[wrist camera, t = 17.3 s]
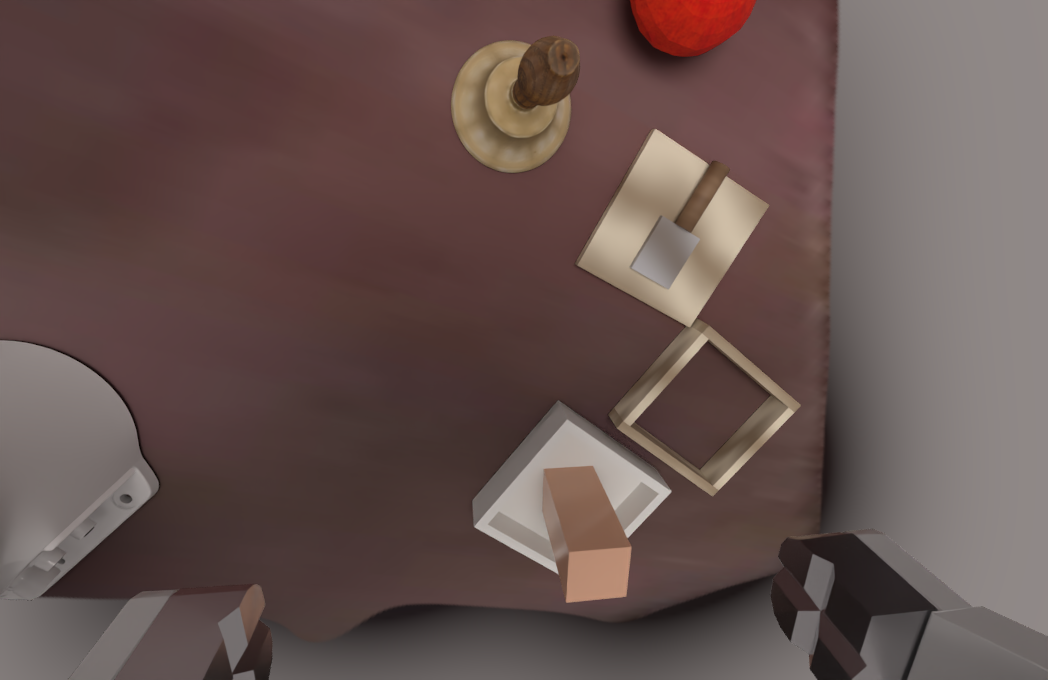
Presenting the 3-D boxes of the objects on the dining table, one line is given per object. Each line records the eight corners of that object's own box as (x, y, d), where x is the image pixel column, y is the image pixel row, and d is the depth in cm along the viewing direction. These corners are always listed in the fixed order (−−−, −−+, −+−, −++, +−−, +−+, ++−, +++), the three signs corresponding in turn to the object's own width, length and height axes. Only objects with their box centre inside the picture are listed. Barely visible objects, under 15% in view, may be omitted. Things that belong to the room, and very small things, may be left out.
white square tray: (572, 558, 47) (581, 586, 44) (472, 500, 44) (473, 526, 40) (655, 468, 45) (671, 491, 42) (558, 399, 42) (567, 419, 38)
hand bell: (507, 10, 32) (554, -131, 17) (594, 107, 35) (701, 57, 20) (425, 111, 33) (403, 62, 18) (515, 197, 36) (560, 215, 21)
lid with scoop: (685, 324, 41) (697, 332, 39) (574, 263, 38) (581, 268, 36) (764, 202, 39) (782, 203, 36) (652, 126, 36) (665, 124, 34)
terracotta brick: (542, 511, 44) (566, 602, 35) (543, 468, 43) (568, 552, 33) (589, 507, 45) (626, 596, 35) (592, 465, 43) (631, 546, 34)
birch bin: (699, 480, 46) (712, 496, 44) (608, 414, 43) (616, 428, 40) (782, 393, 45) (800, 405, 42) (694, 316, 41) (709, 325, 39)
